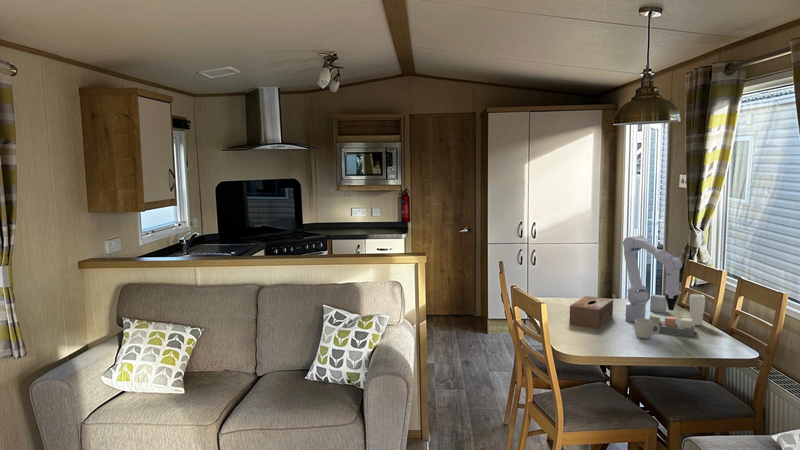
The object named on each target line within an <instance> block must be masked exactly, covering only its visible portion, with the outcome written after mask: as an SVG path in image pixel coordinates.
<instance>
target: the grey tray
mask: <svg viewBox="0 0 800 450" xmlns="http://www.w3.org/2000/svg"><path fill="white" fill-rule="evenodd" d="M657 325H658V324H657ZM695 326H696V325H693V324H692V327H691V329H690V328H682V327H681V322H676V325H675V327H674V326H666V325H665V320H660V325H659V328H660V330H659V332H658V333H661V334H669V335H676V336H685V337H692V338H693V337H694V336H695ZM657 330H658V328H657V326H654V327H653V331H654V332H656V331H657Z"/></svg>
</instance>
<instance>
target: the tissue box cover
mask: <svg viewBox="0 0 800 450" xmlns="http://www.w3.org/2000/svg"><path fill="white" fill-rule="evenodd" d="M613 307H614V299H611V298H606V297H605V298H604V297H597V296H596V297H595V296H591V295H590V296H588V295H585V296H584V297H582V298H581V299H579V300H577V301H575V302H574V303H571V304H570V305H569V320H568V321H569V323H568V324H569V325H571V326H576V327H577V326H578V327H583V328H588V327H589V328H590V329H597V330H598V329H600V328H601V327H603V326H604V325H605V324H606V323H608V322H609V321H611V319H612V318H613V312H614V311H613V309H614V308H613ZM607 321H608V322H607ZM589 328H588V329H589Z"/></svg>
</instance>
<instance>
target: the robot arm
mask: <svg viewBox="0 0 800 450" xmlns="http://www.w3.org/2000/svg"><path fill="white" fill-rule="evenodd" d="M622 245H623V256H624V259H625V260H624V261H625V265H626V269H627V275H628V279H629V283H630V286H629V288H628V289H627V300H628V302H626V305H625V321H626V322H627V321H628V322H632V323H633V322H634V323H635V319H640V318H642V319H647V317H646V306H647V303H648V302H649V300H650V299H651V295H650V293H649V292H648V290H647V289H648V288H647V287H646V286H644V284H643V283H642V278H641V273H640V269H639V265H638V261H637V260H638V259H637V256H636V255H637V254H638V252H639V251H641V250H642V249H644V250H645V251H646V252H648V253H650V254H651V255H653V256H654V259H655V260H656V261H658V262H660V263H661V264H662V265H663V267H664V269H665V273H666V274H665V275H666V276H665V291H664V293H665V295H664V296H665V298H666V300H667V309H668V311H674V309H675V307H676V306H675V305H676V302H677V300H678V299H679V295H682V292H681V291H679V289H680V287H679V285H680V272H681V271H680V270H681V269H682V268H683V266H684V265H683V264H684V263H683V260H682V259H681V258H680V257H678V256H677V257H674V255H673V254H670V253H669V252H667V250H666V249H661V248H660V249H659V248H657V247H656V246H655V245H653V244H652V243H651V242H650V241H648V238H646V237H645V236H643V235H635V236H633V235H632V236H626V237H625V238H624V239H623V241H622Z"/></svg>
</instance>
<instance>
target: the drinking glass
mask: <svg viewBox="0 0 800 450" xmlns="http://www.w3.org/2000/svg"><path fill="white" fill-rule="evenodd" d="M705 305H706V296H705V295H703V294H701V293H700V294H699V293H697V294H696V293H693V294H692V293H691V294H690V295H689V315H690V318H689V319H692V324H693V325H695V326H702V325H703V318H704V312H705Z"/></svg>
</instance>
